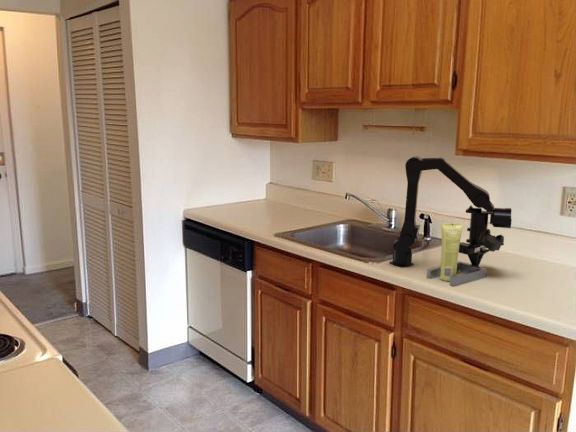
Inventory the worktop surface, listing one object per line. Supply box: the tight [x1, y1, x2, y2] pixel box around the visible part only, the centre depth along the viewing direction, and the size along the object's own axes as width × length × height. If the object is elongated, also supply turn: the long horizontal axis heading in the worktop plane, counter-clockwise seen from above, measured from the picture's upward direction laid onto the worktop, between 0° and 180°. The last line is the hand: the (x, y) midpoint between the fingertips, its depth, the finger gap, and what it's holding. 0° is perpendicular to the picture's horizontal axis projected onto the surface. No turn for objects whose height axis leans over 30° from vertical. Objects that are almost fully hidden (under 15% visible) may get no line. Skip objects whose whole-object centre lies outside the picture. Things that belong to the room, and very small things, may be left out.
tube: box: [439, 222, 464, 282], centre depth 177 cm, size 6×5×20 cm
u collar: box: [426, 260, 488, 287], centre depth 181 cm, size 11×18×3 cm, turn 125°
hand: (475, 268), depth 187 cm, fingers closed
